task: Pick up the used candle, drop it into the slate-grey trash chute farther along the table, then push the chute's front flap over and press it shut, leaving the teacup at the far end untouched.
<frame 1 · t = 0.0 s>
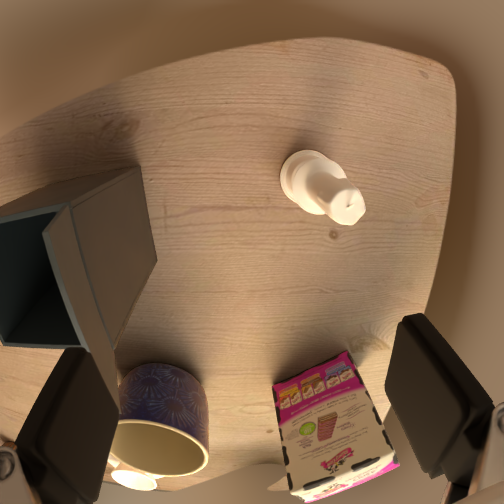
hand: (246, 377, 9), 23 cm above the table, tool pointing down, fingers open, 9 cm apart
planter: (165, 385, 39), on the table
vase: (16, 446, 48), on the table
teacup: (138, 457, 46), on the table
candle: (307, 177, 30), on the table
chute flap: (85, 310, 14), point 17 cm above the table, hinge at 110.0°
candy bar box: (315, 377, 40), on the table
chute: (100, 221, 30), on the table
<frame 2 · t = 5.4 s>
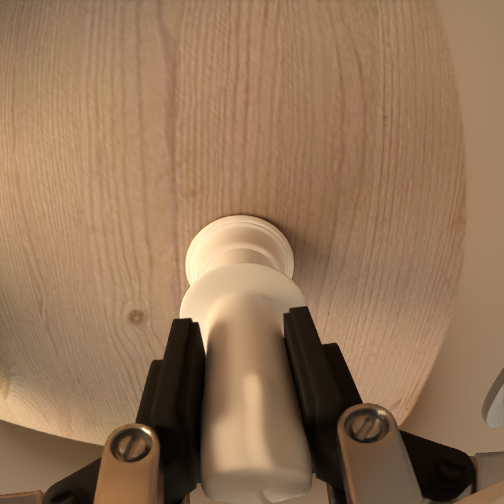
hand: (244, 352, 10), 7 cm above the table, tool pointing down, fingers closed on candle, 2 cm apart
candle: (239, 264, 16), on the table, touching gripper
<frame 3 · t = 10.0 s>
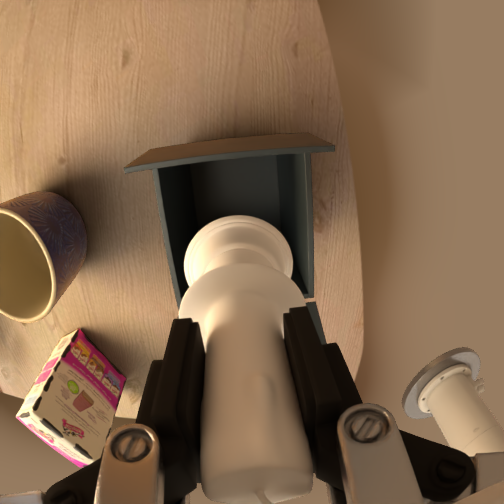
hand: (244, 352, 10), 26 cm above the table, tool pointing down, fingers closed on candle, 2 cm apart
planter: (55, 231, 34), on the table
candle: (238, 265, 16), point 19 cm above the table, touching gripper
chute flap: (249, 342, 20), point 17 cm above the table, hinge at 110.0°
candy bar box: (94, 358, 42), on the table
chute: (235, 189, 34), on the table
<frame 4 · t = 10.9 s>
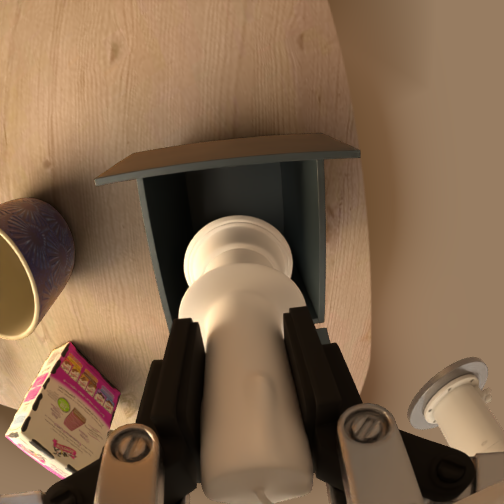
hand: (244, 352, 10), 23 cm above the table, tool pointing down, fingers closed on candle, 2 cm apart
planter: (42, 240, 31), on the table
candle: (238, 265, 16), point 16 cm above the table, touching gripper
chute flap: (251, 376, 17), point 17 cm above the table, hinge at 110.0°
candy bar box: (86, 372, 39), on the table
chute: (235, 195, 31), on the table
when the fingers open (19 cm above the table, at t = 12.1 s): candle drops 12 cm, resting on chute.
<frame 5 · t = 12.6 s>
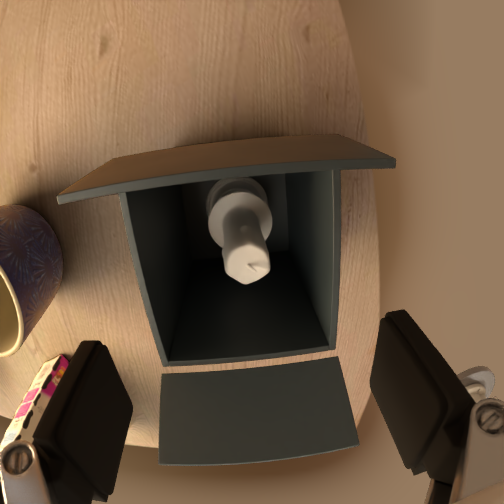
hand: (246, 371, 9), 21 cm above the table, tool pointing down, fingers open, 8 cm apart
planter: (29, 249, 29), on the table
candle: (236, 203, 28), resting on chute
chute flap: (254, 413, 15), point 17 cm above the table, hinge at 110.0°
candy bar box: (80, 385, 36), on the table
chute: (234, 201, 28), on the table
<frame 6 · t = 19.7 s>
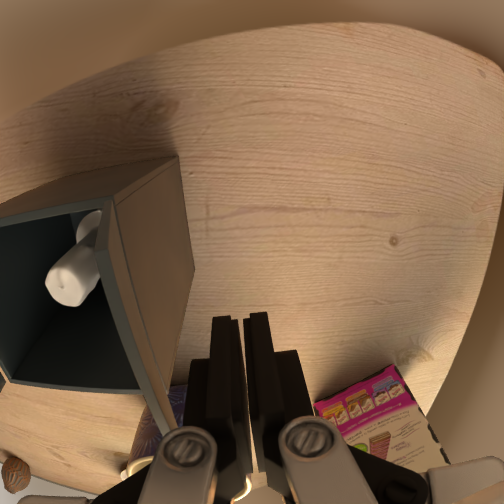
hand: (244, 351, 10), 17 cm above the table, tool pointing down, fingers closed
planter: (194, 407, 35), on the table
vase: (21, 461, 43), on the table
candle: (125, 221, 25), resting on chute
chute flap: (146, 363, 10), point 17 cm above the table, hinge at 110.0°, touching gripper
candy bar box: (358, 392, 35), on the table
chute: (125, 222, 26), on the table
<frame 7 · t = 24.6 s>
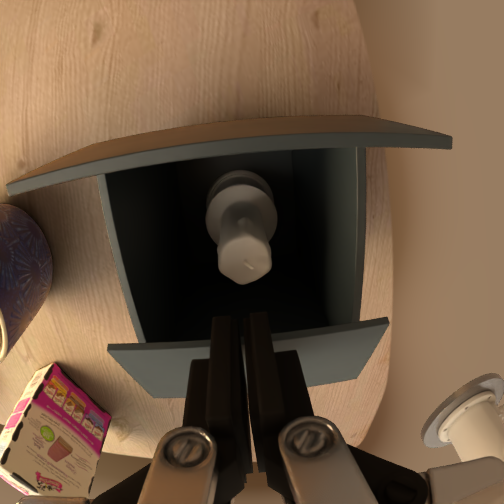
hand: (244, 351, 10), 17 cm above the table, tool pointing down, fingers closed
planter: (18, 251, 26), on the table
candle: (239, 202, 26), resting on chute
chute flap: (251, 370, 12), point 16 cm above the table, hinge at 24.5°, touching gripper
candy bar box: (74, 394, 34), on the table
chute: (237, 200, 26), on the table
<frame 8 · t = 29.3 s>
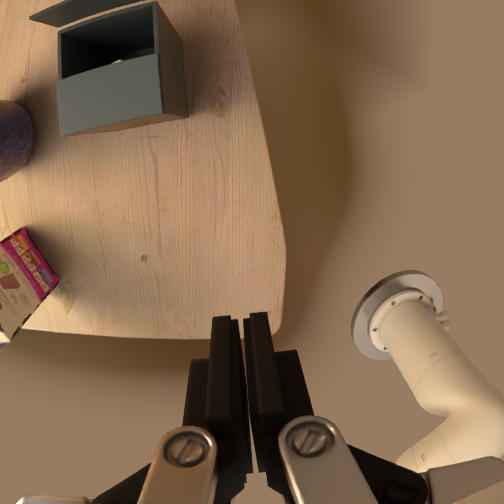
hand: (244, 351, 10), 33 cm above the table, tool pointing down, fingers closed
planter: (12, 138, 35), on the table
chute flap: (105, 94, 22), point 15 cm above the table, hinge at -0.4°
candy bar box: (34, 260, 43), on the table
chute: (147, 84, 35), on the table
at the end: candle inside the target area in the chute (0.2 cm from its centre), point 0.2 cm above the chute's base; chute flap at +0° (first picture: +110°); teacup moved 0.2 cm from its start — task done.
